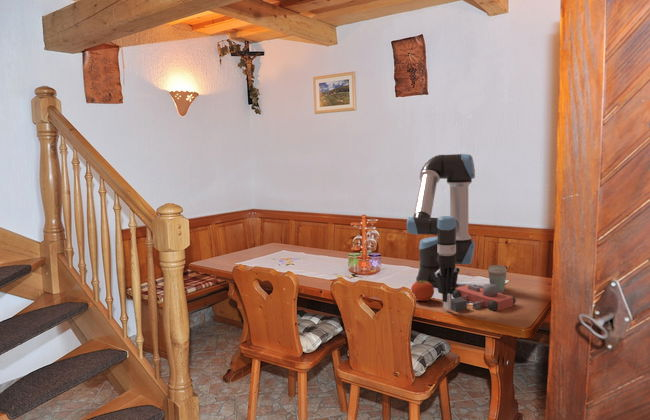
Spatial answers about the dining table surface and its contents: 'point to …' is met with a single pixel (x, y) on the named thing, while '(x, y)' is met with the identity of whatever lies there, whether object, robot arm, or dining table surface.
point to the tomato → (422, 290)
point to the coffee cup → (498, 276)
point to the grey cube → (458, 304)
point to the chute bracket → (476, 304)
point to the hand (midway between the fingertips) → (447, 308)
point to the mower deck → (486, 296)
